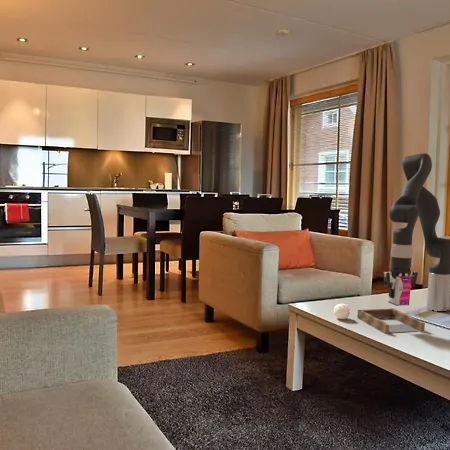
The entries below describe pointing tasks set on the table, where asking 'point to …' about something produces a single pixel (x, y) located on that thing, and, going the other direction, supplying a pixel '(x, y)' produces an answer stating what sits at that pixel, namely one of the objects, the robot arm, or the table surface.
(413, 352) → the table surface
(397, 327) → the loading mat
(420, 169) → the robot arm
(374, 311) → the shallow wooden tray
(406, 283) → the supplement box
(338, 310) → the ornament
